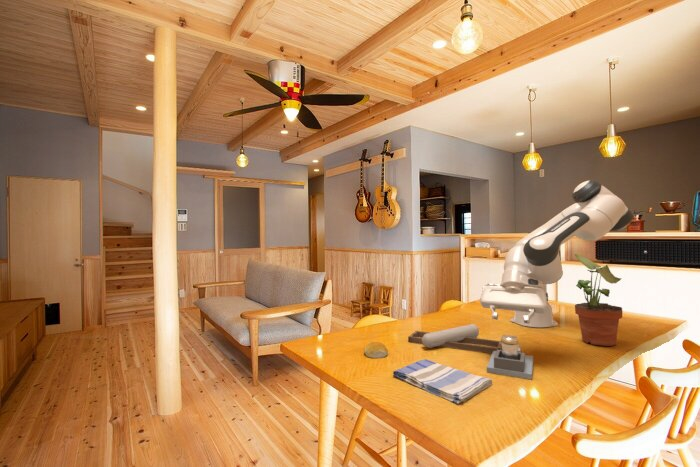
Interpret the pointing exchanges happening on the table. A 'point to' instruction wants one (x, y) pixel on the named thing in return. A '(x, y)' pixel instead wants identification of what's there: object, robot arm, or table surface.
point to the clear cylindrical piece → (509, 347)
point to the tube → (449, 335)
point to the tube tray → (485, 349)
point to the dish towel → (443, 380)
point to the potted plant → (597, 309)
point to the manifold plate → (511, 365)
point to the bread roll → (376, 350)
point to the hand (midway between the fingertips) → (510, 320)
